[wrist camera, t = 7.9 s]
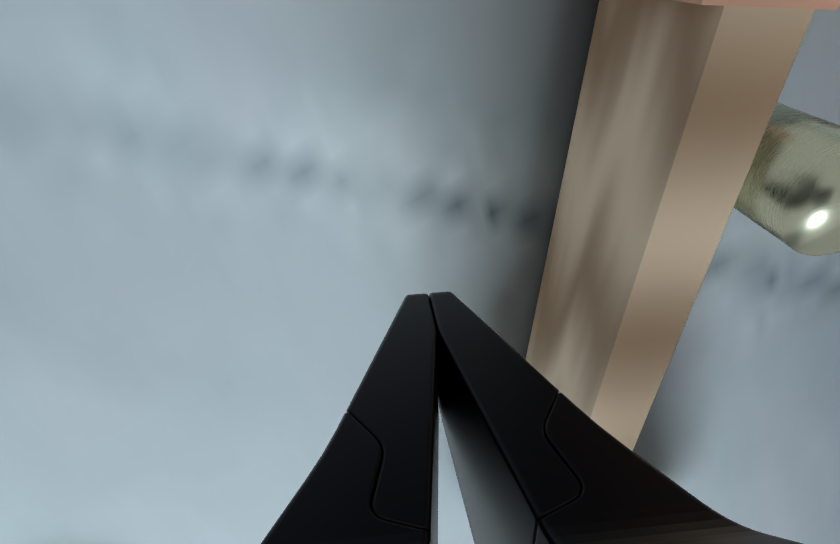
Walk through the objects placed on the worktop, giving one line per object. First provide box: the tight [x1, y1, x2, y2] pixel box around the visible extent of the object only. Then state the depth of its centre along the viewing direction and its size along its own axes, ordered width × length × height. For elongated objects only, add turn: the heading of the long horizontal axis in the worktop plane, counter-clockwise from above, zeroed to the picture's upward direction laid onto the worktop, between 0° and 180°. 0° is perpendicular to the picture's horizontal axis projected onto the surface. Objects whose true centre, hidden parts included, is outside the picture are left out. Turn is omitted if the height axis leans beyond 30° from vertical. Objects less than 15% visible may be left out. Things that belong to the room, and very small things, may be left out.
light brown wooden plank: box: [526, 0, 840, 451], centre depth 14 cm, size 17×2×5 cm, turn 178°
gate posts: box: [734, 103, 840, 256], centre depth 15 cm, size 2×16×7 cm, turn 167°
